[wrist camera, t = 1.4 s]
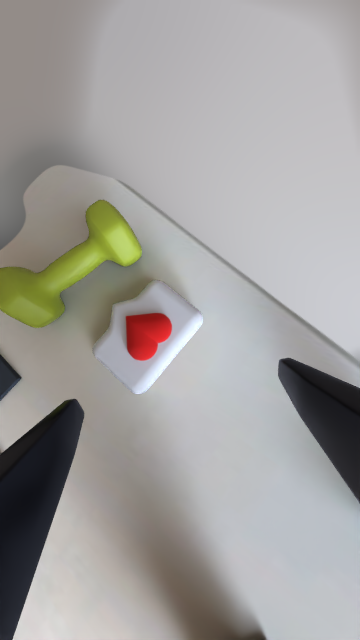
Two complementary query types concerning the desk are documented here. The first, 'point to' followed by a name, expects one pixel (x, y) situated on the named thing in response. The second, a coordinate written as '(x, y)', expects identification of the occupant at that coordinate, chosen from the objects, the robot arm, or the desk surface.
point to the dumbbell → (68, 268)
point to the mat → (7, 378)
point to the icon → (146, 335)
